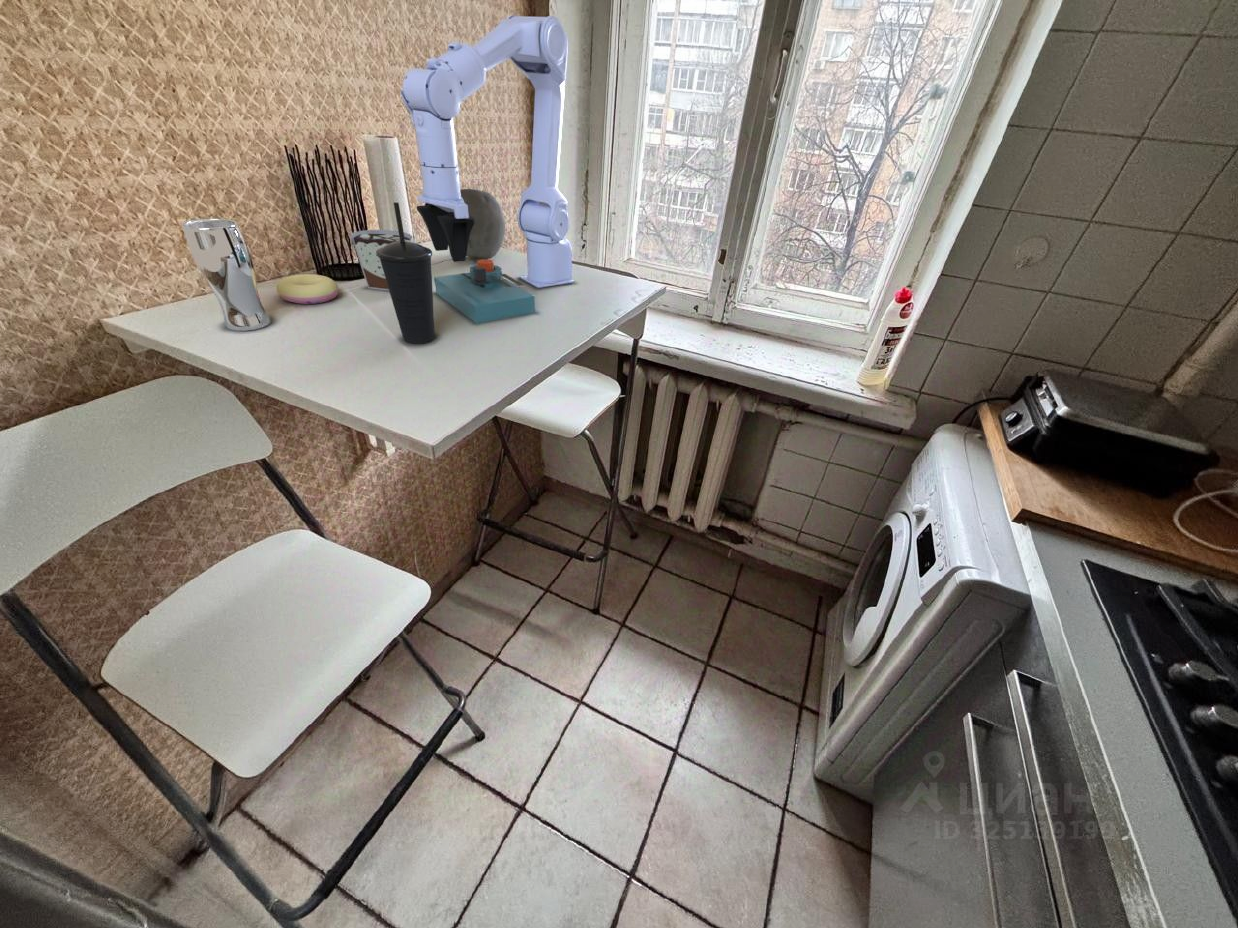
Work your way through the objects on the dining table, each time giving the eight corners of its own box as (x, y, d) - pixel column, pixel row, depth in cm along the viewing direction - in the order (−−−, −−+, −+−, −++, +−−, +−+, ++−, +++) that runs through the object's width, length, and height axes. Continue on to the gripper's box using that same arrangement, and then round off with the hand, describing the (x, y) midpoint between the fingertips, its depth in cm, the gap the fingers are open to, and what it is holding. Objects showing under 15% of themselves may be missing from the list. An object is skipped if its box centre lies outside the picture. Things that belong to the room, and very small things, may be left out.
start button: (489, 267, 99) (488, 258, 98) (497, 272, 97) (496, 262, 96) (474, 269, 97) (474, 260, 96) (482, 273, 95) (481, 264, 94)
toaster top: (496, 269, 97) (496, 269, 97) (523, 284, 91) (523, 284, 90) (453, 274, 92) (453, 274, 92) (479, 291, 86) (479, 291, 86)
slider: (485, 280, 89) (484, 266, 88) (490, 283, 88) (489, 269, 87) (470, 282, 88) (469, 267, 86) (475, 285, 87) (474, 270, 85)
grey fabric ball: (519, 262, 120) (516, 193, 111) (467, 269, 111) (459, 196, 102) (489, 248, 127) (484, 183, 118) (438, 254, 119) (428, 185, 110)
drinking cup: (416, 353, 75) (390, 210, 64) (384, 339, 78) (353, 201, 66) (454, 338, 81) (436, 205, 69) (422, 326, 84) (400, 196, 72)
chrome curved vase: (284, 321, 81) (250, 223, 72) (245, 335, 76) (204, 231, 67) (251, 313, 82) (214, 216, 73) (211, 326, 77) (166, 223, 68)
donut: (311, 298, 96) (268, 305, 88) (303, 273, 94) (259, 278, 86) (352, 298, 93) (312, 306, 85) (345, 272, 91) (304, 278, 83)
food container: (433, 285, 101) (426, 233, 95) (421, 294, 96) (412, 240, 90) (376, 278, 101) (365, 226, 95) (360, 287, 97) (348, 233, 91)
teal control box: (491, 285, 104) (489, 261, 101) (535, 312, 93) (534, 286, 90) (436, 293, 97) (432, 267, 94) (476, 323, 87) (473, 295, 84)
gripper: (397, 159, 79) (412, 247, 88) (432, 172, 71) (444, 269, 79) (439, 159, 83) (450, 244, 91) (477, 172, 75) (484, 264, 83)
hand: (450, 255), depth 85 cm, fingers open, 7 cm apart
